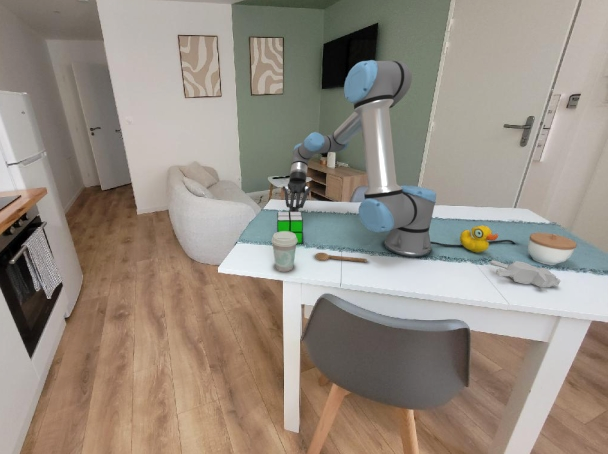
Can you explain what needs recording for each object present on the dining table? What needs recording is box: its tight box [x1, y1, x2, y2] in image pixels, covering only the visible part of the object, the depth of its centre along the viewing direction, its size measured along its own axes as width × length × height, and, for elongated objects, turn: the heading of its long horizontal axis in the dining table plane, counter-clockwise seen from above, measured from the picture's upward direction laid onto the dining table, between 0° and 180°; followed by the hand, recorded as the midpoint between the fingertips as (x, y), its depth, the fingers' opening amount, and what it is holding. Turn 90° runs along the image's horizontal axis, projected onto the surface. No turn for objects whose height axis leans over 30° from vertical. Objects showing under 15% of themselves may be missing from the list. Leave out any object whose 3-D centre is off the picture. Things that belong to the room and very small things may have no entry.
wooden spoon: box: [315, 252, 368, 263], centre depth 102 cm, size 17×4×1 cm, turn 73°
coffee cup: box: [271, 231, 298, 273], centre depth 97 cm, size 8×9×12 cm
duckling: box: [459, 225, 499, 253], centre depth 102 cm, size 11×5×10 cm, turn 17°
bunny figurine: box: [489, 259, 561, 288], centre depth 86 cm, size 10×5×15 cm
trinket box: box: [527, 232, 578, 266], centre depth 94 cm, size 11×11×9 cm
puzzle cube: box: [276, 211, 304, 244], centre depth 119 cm, size 10×10×10 cm
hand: (292, 221), depth 126 cm, fingers closed
